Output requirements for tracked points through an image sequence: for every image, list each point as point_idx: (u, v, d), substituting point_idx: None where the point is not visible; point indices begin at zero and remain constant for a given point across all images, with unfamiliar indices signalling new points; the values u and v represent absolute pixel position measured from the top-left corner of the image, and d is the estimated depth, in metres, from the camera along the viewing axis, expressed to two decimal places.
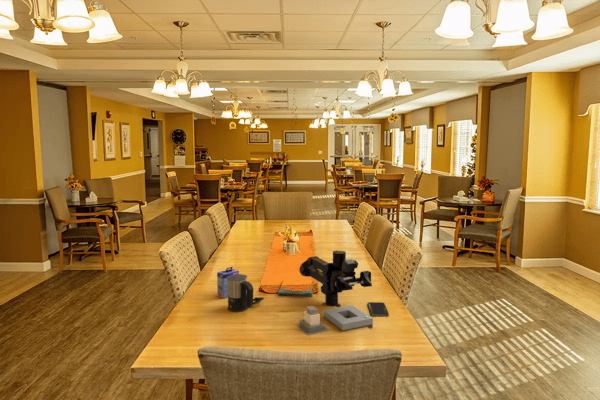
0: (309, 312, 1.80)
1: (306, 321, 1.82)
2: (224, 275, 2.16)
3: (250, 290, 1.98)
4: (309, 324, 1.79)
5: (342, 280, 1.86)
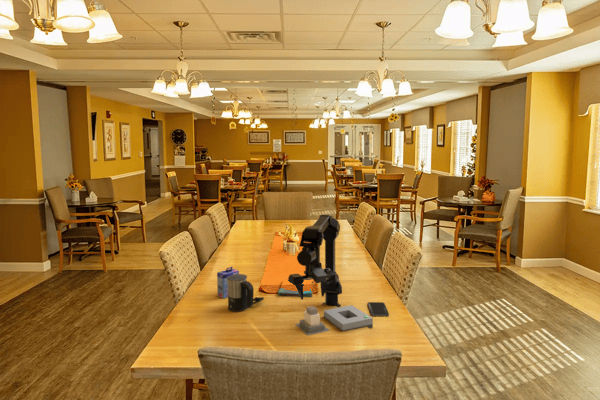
0: (309, 312, 1.80)
1: (306, 321, 1.82)
2: (224, 275, 2.16)
3: (250, 290, 1.98)
4: (309, 324, 1.79)
5: (301, 287, 1.75)
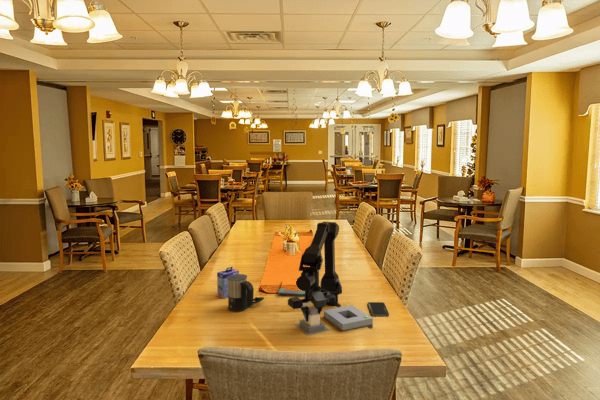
0: (309, 312, 1.80)
1: (306, 321, 1.82)
2: (224, 275, 2.16)
3: (250, 290, 1.98)
4: (309, 324, 1.79)
5: (306, 310, 1.78)
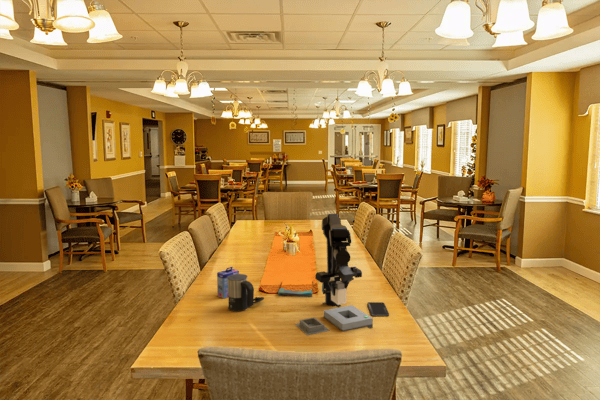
0: (336, 286, 1.83)
1: None
2: (224, 275, 2.16)
3: (250, 290, 1.98)
4: (336, 298, 1.82)
5: (333, 284, 1.81)
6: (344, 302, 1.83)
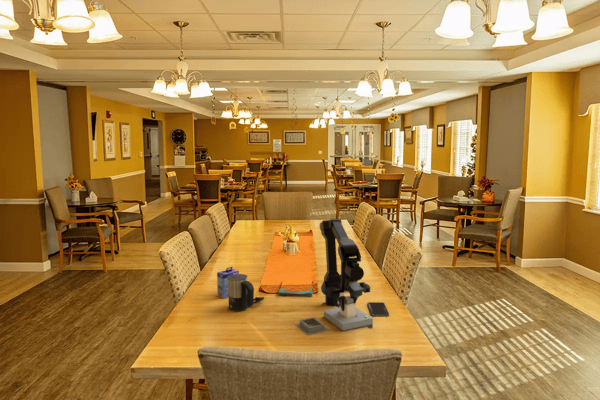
0: (345, 302, 1.85)
1: None
2: (224, 275, 2.16)
3: (250, 290, 1.98)
4: (345, 313, 1.85)
5: (342, 299, 1.83)
6: None
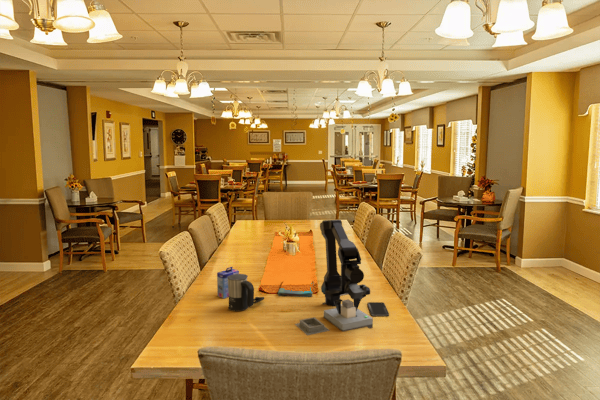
0: (345, 305, 1.85)
1: (342, 314, 1.87)
2: (224, 275, 2.16)
3: (251, 290, 1.98)
4: (345, 317, 1.85)
5: (339, 302, 1.83)
6: None
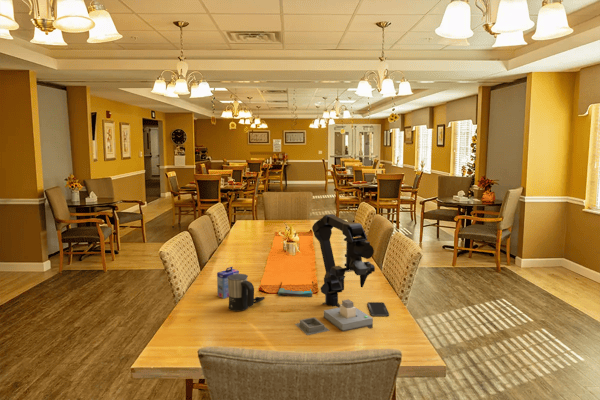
0: (345, 305, 1.85)
1: (342, 314, 1.87)
2: (224, 275, 2.16)
3: (251, 290, 1.99)
4: (345, 317, 1.85)
5: (342, 279, 1.88)
6: None
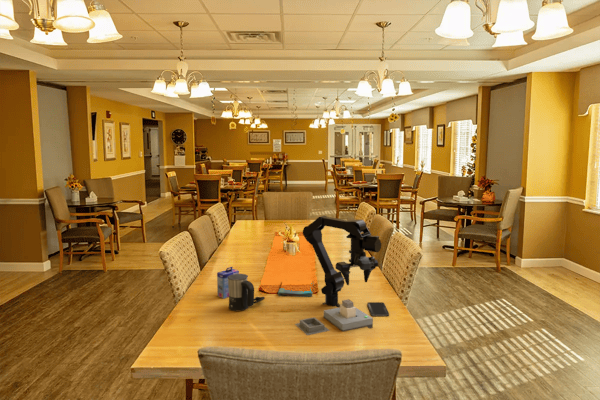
0: (345, 305, 1.85)
1: (342, 314, 1.87)
2: (224, 275, 2.16)
3: (251, 290, 1.99)
4: (345, 317, 1.85)
5: (347, 274, 1.94)
6: None
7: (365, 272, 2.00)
